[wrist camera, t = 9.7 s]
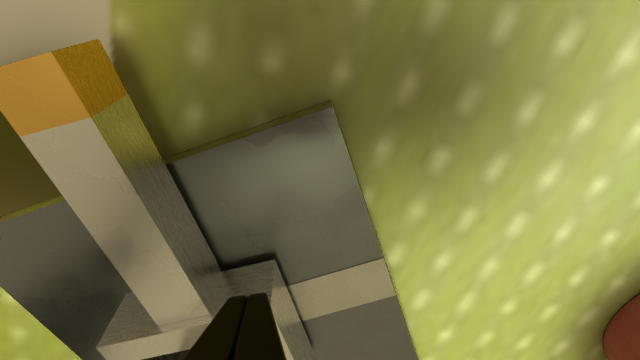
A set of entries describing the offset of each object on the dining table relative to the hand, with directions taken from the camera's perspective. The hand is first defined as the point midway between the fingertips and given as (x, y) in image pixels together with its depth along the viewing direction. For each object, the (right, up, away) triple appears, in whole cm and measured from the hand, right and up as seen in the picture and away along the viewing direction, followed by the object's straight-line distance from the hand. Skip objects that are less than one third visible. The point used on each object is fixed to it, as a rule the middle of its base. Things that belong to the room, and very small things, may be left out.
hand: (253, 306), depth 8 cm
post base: (-3, -4, +11) cm, 12 cm away
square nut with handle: (-4, 0, +7) cm, 9 cm away
